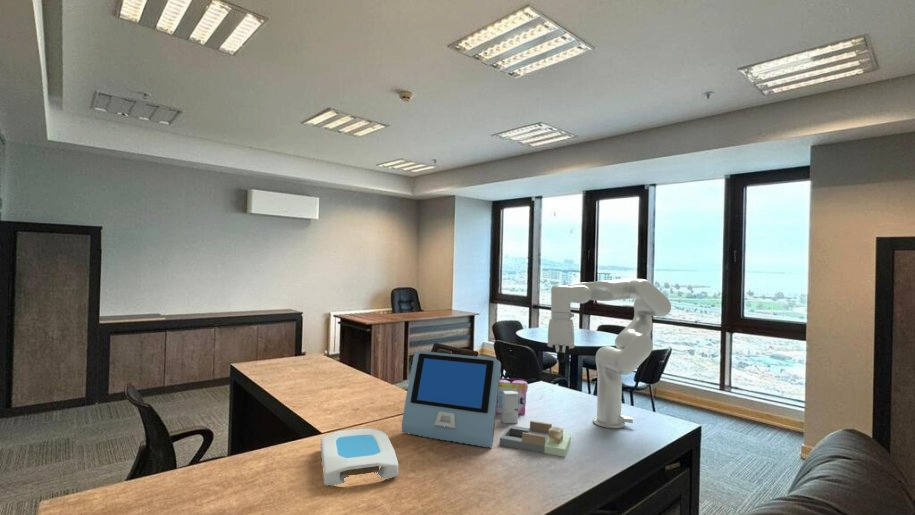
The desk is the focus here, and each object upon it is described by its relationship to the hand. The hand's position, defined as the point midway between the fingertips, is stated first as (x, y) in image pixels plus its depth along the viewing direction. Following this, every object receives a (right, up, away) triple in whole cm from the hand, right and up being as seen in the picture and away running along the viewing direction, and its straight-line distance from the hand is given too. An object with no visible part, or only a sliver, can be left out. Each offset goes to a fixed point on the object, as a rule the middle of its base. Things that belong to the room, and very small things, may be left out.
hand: (560, 361), depth 175 cm
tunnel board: (-13, -26, -16) cm, 33 cm away
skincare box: (-20, -26, +6) cm, 33 cm away
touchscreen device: (-43, -25, -9) cm, 51 cm away
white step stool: (-73, -24, -36) cm, 86 cm away
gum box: (-23, -27, +19) cm, 40 cm away
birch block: (-7, -23, -20) cm, 31 cm away
